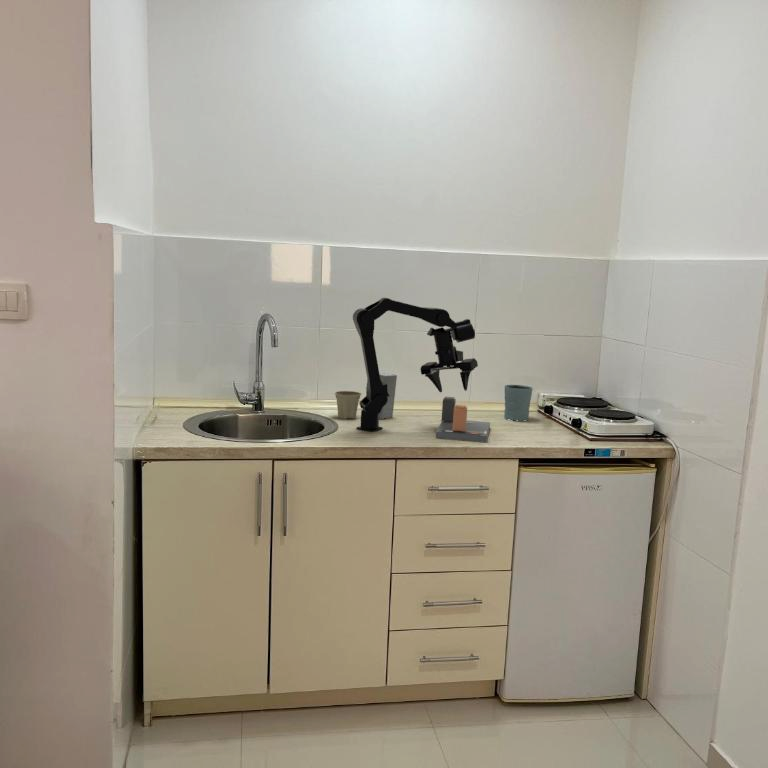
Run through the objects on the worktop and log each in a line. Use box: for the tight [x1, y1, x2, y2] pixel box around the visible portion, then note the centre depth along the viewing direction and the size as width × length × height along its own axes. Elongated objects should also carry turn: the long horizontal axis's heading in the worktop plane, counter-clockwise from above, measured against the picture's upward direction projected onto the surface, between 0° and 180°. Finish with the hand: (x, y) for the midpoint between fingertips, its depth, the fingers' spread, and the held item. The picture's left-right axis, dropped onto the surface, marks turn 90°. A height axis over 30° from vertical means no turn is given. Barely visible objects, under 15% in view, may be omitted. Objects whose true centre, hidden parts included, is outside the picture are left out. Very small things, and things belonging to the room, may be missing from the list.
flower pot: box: [334, 390, 362, 420], centre depth 267 cm, size 9×9×9 cm
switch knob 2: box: [452, 404, 468, 431], centre depth 245 cm, size 4×4×8 cm
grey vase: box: [379, 370, 398, 420], centre depth 270 cm, size 8×7×16 cm
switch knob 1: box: [441, 396, 457, 421], centre depth 259 cm, size 4×4×8 cm
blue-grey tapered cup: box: [503, 384, 533, 422], centre depth 279 cm, size 10×10×12 cm
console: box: [435, 419, 491, 443], centre depth 252 cm, size 16×22×2 cm
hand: (453, 391), depth 255 cm, fingers open, 9 cm apart
